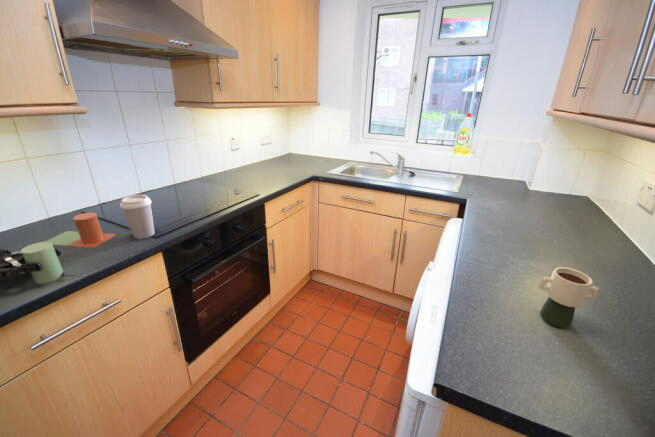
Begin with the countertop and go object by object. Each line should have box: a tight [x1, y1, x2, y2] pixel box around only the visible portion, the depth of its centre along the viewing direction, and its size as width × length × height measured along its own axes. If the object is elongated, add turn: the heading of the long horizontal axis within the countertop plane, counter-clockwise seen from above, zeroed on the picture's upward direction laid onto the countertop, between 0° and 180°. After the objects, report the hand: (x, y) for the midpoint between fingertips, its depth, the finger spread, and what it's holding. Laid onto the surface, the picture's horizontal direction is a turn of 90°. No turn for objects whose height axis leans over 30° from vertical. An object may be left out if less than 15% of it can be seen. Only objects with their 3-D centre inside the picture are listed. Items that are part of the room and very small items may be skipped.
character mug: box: [538, 266, 600, 329], centre depth 69 cm, size 11×7×13 cm, turn 69°
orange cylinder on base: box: [72, 212, 104, 244], centre depth 102 cm, size 6×6×9 cm
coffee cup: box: [119, 194, 156, 240], centre depth 106 cm, size 10×10×15 cm
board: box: [44, 230, 117, 248], centre depth 105 cm, size 10×20×1 cm, turn 84°
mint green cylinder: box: [20, 241, 65, 285], centre depth 83 cm, size 6×6×10 cm
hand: (50, 259), depth 83 cm, fingers open, 7 cm apart
